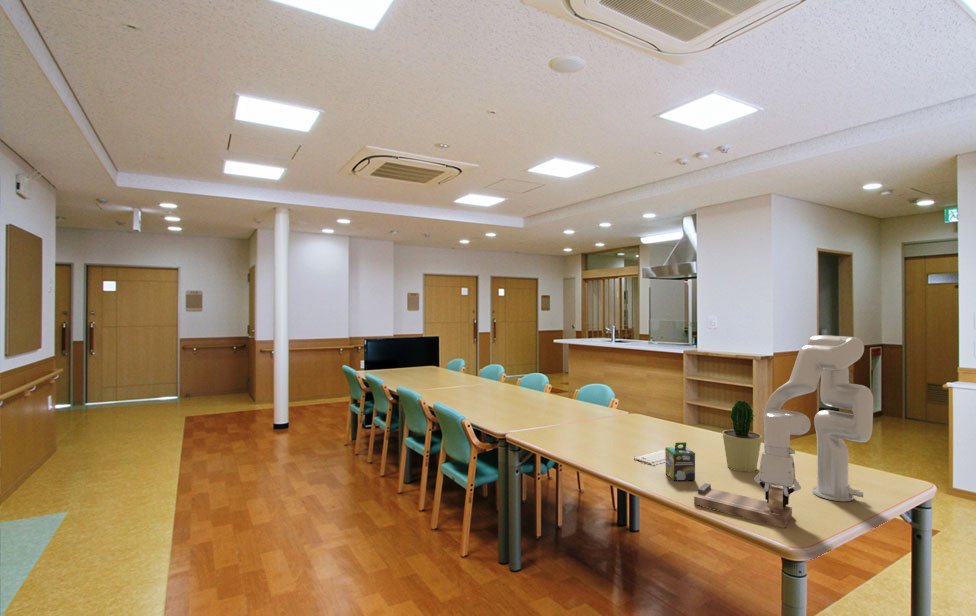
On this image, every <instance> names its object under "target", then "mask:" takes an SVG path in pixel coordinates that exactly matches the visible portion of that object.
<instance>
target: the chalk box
mask: <svg viewBox="0 0 976 616" xmlns="http://www.w3.org/2000/svg"><path fill="white" fill-rule="evenodd" d="M665 461H666V462H665V475H667V476H668V477H669V476H670V477H671V478H672V479H673V480H672V479H671V478H670V477H669V478H670V479H671V480H672V481H674V480H675V481H674V482H679V481H678V480H695V481H696V452H694V451H693V450H691V449H690V448H689V447H687V442H680V441H679V442H675V445H674V446H667V447H665ZM676 480H677V481H676Z"/></svg>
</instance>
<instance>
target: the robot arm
mask: <svg viewBox="0 0 976 616" xmlns="http://www.w3.org/2000/svg"><path fill="white" fill-rule="evenodd" d="M864 351H865V345H864V343H863V341H862V340H861V339H860V338H858V337H855V336H845V335H842V336H841V335H827V334H823V335H822V334H821V335H818V334H817V335H813V336H811V337H810V338H809V339H808V342H807V345H804V346H801V347H800V349H799V350H798V353H797V356H796V359H795V362H794V366H793V368H792V371H791V374H790V377H789V380H788V381H787V382H786V383H784V384H782V385H781V386H779V387H778V388H777V389H776V390H775V391H773V392H772V393H771V394H770V395H769V396H768V399H767V401H766V405H765V408H764V410H763V413H762V422H763V430H764V432H763V434H764V435H763V436H764V437H763V441H764V442H763V445H764V446H763V448H764V449H763V451H762V452H761V455H760V456H761V457H760V462H759V463H760V464H759V472H758V473H757V474H756V475H755V476H754V478H753V480H754V481H755V482H756V483H758V484H759V485H760V487H761V488H763V491H764V492H765V493H764V494H765V496H764V499H765V501H767V503H768V504H769V488H770V487H771V486H772V485H775V486H779V487H783V490H784V495H783V507H784V508H785V507H786V506H788V505H789V503H790V502H789V499H790V495H791V494H793V493H795V492H797V491H800V490H801V489H802V486H801V485H800V484H799V481H798V480H797V478H796V467H795V461H794V457H793V455H796V450H795V449H793V448H792V447H791V435H793V436H794V435H795V436H801V435H805V434H806V433H808V432H809V431H810V429H811V428H812V427H811V426H812V424H811V420H810V418H809V417H808V416H807V415H806V414H804V413H802V412H799V411H792V410H788V409H783V408H782V406H783V405H784V404H785V403H786V402H787V401H789V400H790V399H793V398H796V397H800V396H803V395H807V394H811V393H814V392H815V391H816V390H817V388H818V384H819V383H820V391H819V392H820V393H819V394H820V401H821V403H823V405H824V406H827V407H832V408H836V409H843V410H849V411H852V413H847V412H844V411H837V410H831V409H824V410H823V409H822V410H819V411H818V412H816V414H815V416H814V418H813V419H814V420H813V424H814V428H815V429H814V430H815V433H816V445H817V446H816V447H817V449H816V450H817V451H816V452H817V458H816V460H817V461H816V462H817V463H816V465H817V466H816V467H817V469H816V472H817V477H816V481H817V482H816V484H817V485H816V486H814V487H812V489H811V490H812V491H811V492H812V493H813V494H814V495H816V496H818V497H819V498H823V499H826V500H830V501H835V502H851V500H852V501H853V500H854V497H855V496H856V497H859V498H864V491H860V489H854V488H852V487H851V484H850V483H849V449H848V446H847V444H846V442H845V440H848V441H852V442H857V443H867V442H868V441H870V439H871V437H872V435H873V422H874V396H873V393H872V391H871V389H870V388H869V387H867V386H865V385H863V384H857V383H850V381H849V380H850V379H849V377H850V375H849V374H850V369H849V367H850V366H851V365H853V364H854V363H856V362H857V361H859V360H860V359H861V357H862V356H863V354H864V353H865V352H864ZM781 408H782V409H781Z"/></svg>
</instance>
